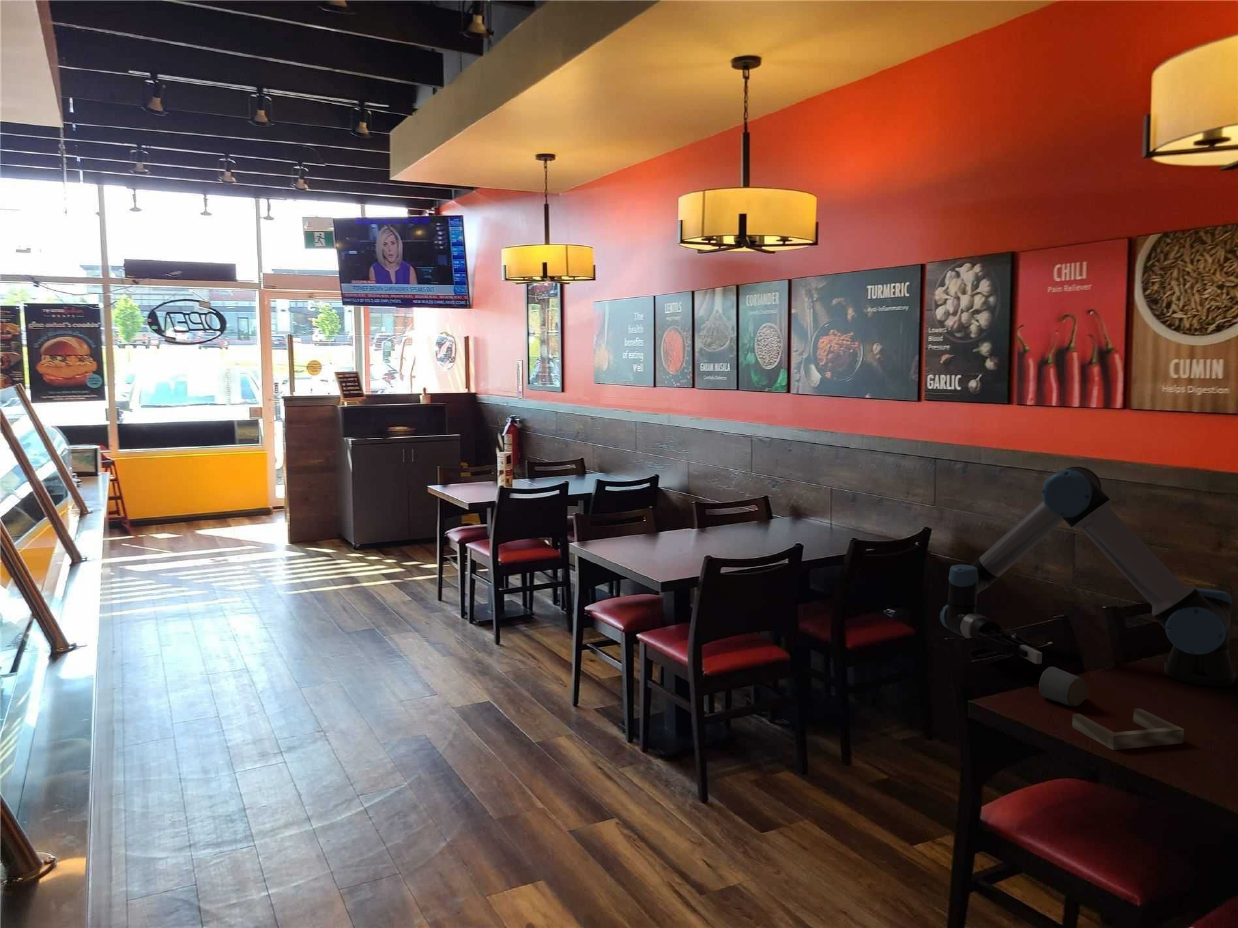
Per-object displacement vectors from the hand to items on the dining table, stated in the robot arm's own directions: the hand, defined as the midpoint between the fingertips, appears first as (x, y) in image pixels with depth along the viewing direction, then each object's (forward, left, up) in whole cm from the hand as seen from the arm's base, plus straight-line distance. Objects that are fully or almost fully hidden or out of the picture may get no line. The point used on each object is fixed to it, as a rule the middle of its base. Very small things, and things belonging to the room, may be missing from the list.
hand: (1039, 658), depth 215 cm
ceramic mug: (-1, +8, -8) cm, 12 cm away
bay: (0, +29, -8) cm, 30 cm away
